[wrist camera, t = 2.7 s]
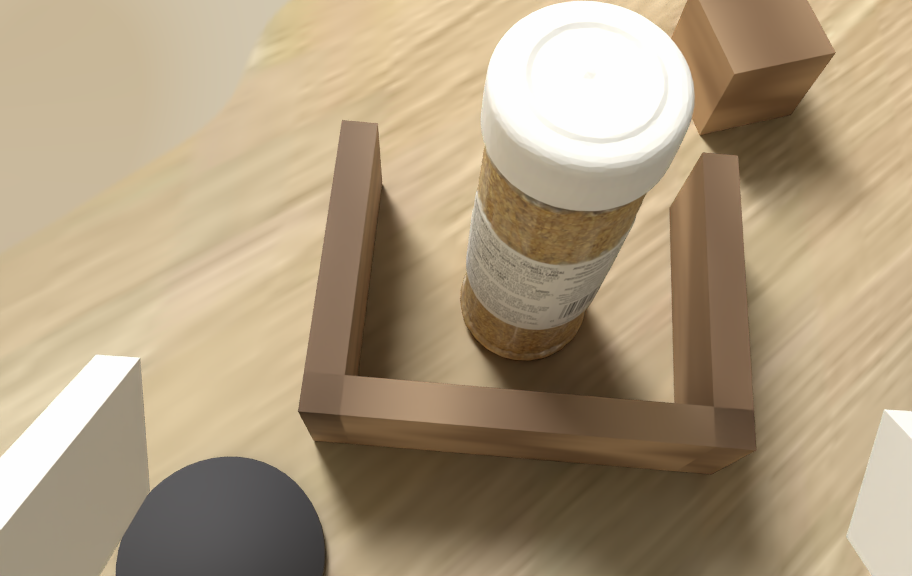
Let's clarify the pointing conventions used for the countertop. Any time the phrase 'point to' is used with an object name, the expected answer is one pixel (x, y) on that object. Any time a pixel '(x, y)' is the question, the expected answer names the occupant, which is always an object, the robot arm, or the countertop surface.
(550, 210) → the spice jar
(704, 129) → the walnut cube
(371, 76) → the countertop surface
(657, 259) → the countertop surface
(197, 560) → the dark grey round disc
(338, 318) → the cubby
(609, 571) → the countertop surface
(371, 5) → the countertop surface
